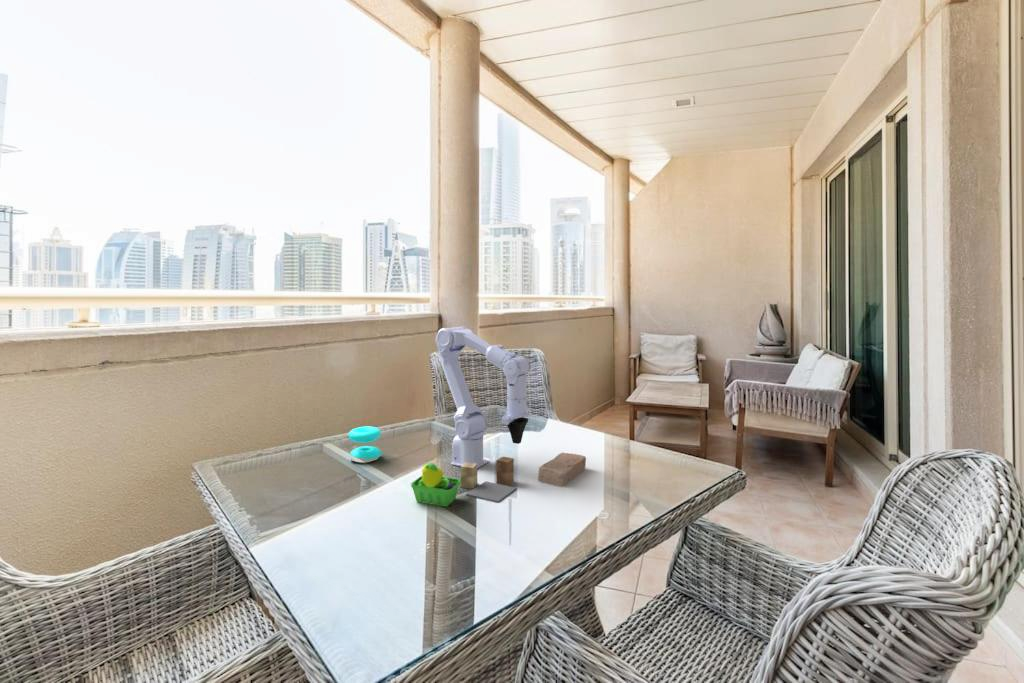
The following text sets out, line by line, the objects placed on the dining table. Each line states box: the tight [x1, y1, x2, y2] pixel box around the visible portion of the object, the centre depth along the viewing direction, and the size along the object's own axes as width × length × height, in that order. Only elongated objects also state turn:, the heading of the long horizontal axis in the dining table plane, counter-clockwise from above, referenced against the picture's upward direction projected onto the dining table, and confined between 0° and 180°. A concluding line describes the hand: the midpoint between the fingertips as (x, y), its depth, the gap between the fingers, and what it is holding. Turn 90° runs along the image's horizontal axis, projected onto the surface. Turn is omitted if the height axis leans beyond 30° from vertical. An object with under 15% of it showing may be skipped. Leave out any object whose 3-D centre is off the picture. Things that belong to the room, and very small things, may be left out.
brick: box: [537, 451, 587, 488], centre depth 148 cm, size 17×8×5 cm, turn 148°
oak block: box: [460, 462, 478, 490], centre depth 140 cm, size 4×4×6 cm
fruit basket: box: [410, 462, 461, 507], centre depth 129 cm, size 11×9×11 cm
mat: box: [465, 481, 517, 504], centre depth 136 cm, size 10×10×1 cm
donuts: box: [348, 425, 382, 459], centre depth 162 cm, size 10×10×10 cm
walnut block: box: [495, 456, 515, 486], centre depth 142 cm, size 4×4×7 cm
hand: (516, 442), depth 147 cm, fingers closed
